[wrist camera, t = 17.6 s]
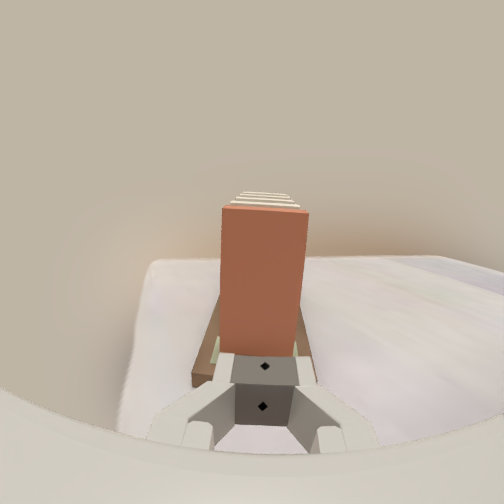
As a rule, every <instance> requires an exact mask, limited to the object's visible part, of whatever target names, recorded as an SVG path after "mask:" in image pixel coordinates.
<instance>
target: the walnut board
mask: <svg viewBox="0 0 504 504" xmlns="http://www.w3.org/2000/svg"><path fill="white" fill-rule="evenodd" d="M219 353H220V295H219V298H218V300H217V303H216V306H215V309H214V311H213V314H212V317H211V320H210V322H209V325H208V328H207V331H206V333H205V336H204V339H203V342H202V344H201V347H200V350H199V353H198V356H197V358H196V361H195V364H194V367H193V370H192V372H191V374H192V386H193V387H199V386H201V385H202V384H204V383H205V382H207V381H212V379H213V375H214V371H215V367H216V363H217V359H218V355H219ZM295 356H309V357H310V358H311V362H312V366H313V370H314V374H315V379H316V383H317V377H316V373H315V368H314V364H313V359H312V355H311V351H310V346H309V342H308V338H307V334H306V329H305V325H304V321H303V317H302V313H301V309H300V305H299V313H298V321H297V328H296V336H295V343H294V350H293V357H295Z"/></svg>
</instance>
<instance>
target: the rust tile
mask: <svg viewBox="0 0 504 504" xmlns="http://www.w3.org/2000/svg"><path fill="white" fill-rule="evenodd" d="M308 218H309V213H308V212H307V211H306V210H296V209H282V208H267V207H249V206H230V205H226V206H224V207H223V208H222V231H221V269H220V352H222V353H234V354H247V355H260V356H275V357H293V350H294V343H295V336H296V328H297V321H298V313H299V305H300V297H301V288H302V279H303V270H304V261H305V251H306V241H307V230H308Z"/></svg>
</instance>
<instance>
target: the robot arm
mask: <svg viewBox="0 0 504 504" xmlns="http://www.w3.org/2000/svg"><path fill="white" fill-rule="evenodd" d="M234 424H238V425H264V426H286V427H287V428H288V429H289V431H290V432H291V433H292V434H293V435H294V437H295V438H296V439H297V440H298V441H299V443H300V444H301V445H302V446H303V447H304V448H305V450H306V451H307V452H308V453H309V454H252V453H236V452H224V451H214V446H215V445H216V444H217V443H218V442H219V441H220V440H221V439H222V438H223V437H224V436H225V435H226V434H227V433H228V432H229V431H230V430H231V429H232V428H233V427H234ZM0 504H504V413H503V414H501V415H498V416H496V417H493V418H490V419H488V420H485V421H482V422H479V423H476V424H473V425H470V426H467V427H464V428H461V429H458V430H454V431H451V432H447V433H444V434H440V435H436V436H432V437H428V438H424V439H420V440H416V441H411V442H406V443H401V444H396V445H390V446H384V447H380V445H379V442H378V439H377V436H376V433H375V431H374V428H373V425H372V423H371V421H369V420H368V419H366V418H365V417H364V416H362V415H361V414H359V413H358V412H356V411H355V410H354V409H352V408H351V407H349V406H348V405H347V404H345V403H344V402H343V401H341V400H340V399H338V398H337V397H336V396H334V395H333V394H332V393H330V392H329V391H328V390H326V389H325V388H324V387H322V386H317V383H316V379H315V374H314V370H313V366H312V362H311V358H310V357H309V356H295V357H275V356H260V355H247V354H234V353H222V352H220V353H219V355H218V359H217V363H216V367H215V371H214V375H213V379H212V381H207V382H205V383H204V384H202V385H201V386H199V387H198V388H196V389H195V390H193V391H191V392H190V393H188V394H187V395H185V396H184V397H182V398H180V399H179V400H177V401H176V402H174V403H172V404H171V405H169V406H168V407H166V408H164V409H163V410H161V411H159V412H158V413H156V415H155V417H154V419H153V422H152V424H151V427H150V429H149V431H148V434H147V436H146V439H142V438H138V437H134V436H130V435H126V434H122V433H118V432H115V431H111V430H107V429H104V428H100V427H97V426H94V425H91V424H88V423H85V422H82V421H79V420H76V419H73V418H70V417H68V416H65V415H62V414H60V413H57V412H55V411H52V410H50V409H47V408H45V407H43V406H40V405H38V404H36V403H33V402H31V401H29V400H27V399H25V398H22V397H20V396H18V395H16V394H14V393H12V392H10V391H8V390H6V389H4V388H2V387H0Z"/></svg>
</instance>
